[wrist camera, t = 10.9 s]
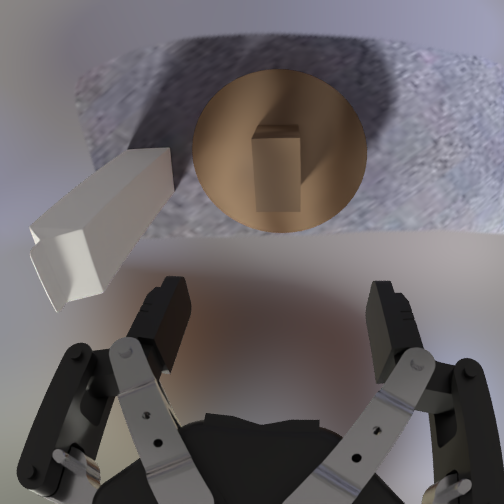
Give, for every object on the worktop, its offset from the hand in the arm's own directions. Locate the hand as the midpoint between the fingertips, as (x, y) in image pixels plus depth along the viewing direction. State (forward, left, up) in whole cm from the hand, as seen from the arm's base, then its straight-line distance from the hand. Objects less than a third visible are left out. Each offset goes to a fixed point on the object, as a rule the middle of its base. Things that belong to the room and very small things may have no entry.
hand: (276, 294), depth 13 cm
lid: (+1, 0, -18) cm, 18 cm away
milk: (+17, +3, -25) cm, 30 cm away
